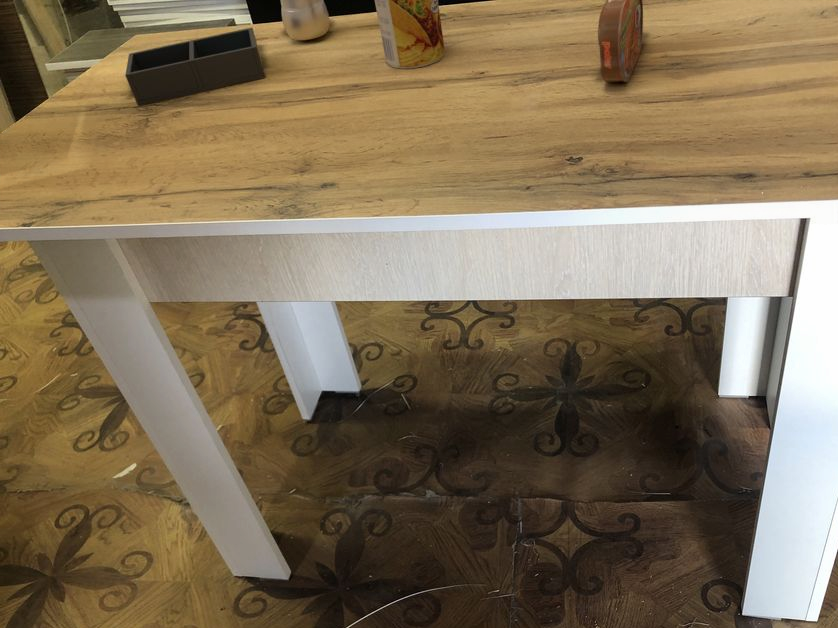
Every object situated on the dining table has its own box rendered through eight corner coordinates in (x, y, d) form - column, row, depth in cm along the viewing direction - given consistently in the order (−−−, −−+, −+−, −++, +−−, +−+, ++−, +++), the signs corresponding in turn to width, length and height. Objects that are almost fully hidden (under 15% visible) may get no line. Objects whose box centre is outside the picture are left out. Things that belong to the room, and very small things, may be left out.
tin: (623, 94, 85) (623, 15, 80) (594, 94, 86) (593, 16, 81) (644, 43, 96) (646, -30, 90) (619, 43, 97) (619, -29, 91)
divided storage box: (137, 106, 101) (125, 75, 98) (140, 83, 107) (128, 53, 104) (265, 77, 103) (256, 46, 100) (260, 56, 109) (252, 27, 107)
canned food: (456, 54, 101) (443, -45, 93) (405, 73, 98) (387, -28, 90) (424, 41, 106) (410, -55, 98) (375, 59, 103) (356, -38, 95)
